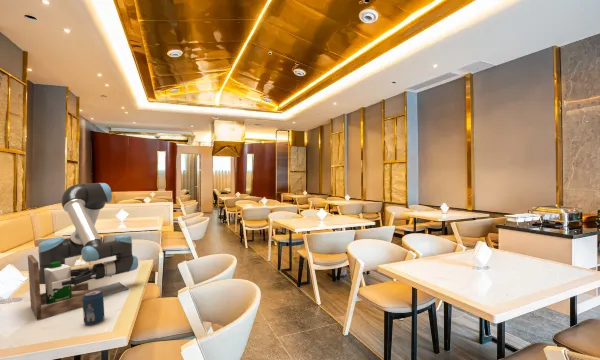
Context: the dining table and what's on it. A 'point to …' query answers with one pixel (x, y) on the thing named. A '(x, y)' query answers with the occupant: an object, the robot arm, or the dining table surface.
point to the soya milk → (53, 275)
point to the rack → (40, 299)
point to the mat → (112, 289)
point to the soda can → (93, 307)
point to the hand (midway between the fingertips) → (49, 282)
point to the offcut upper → (80, 293)
